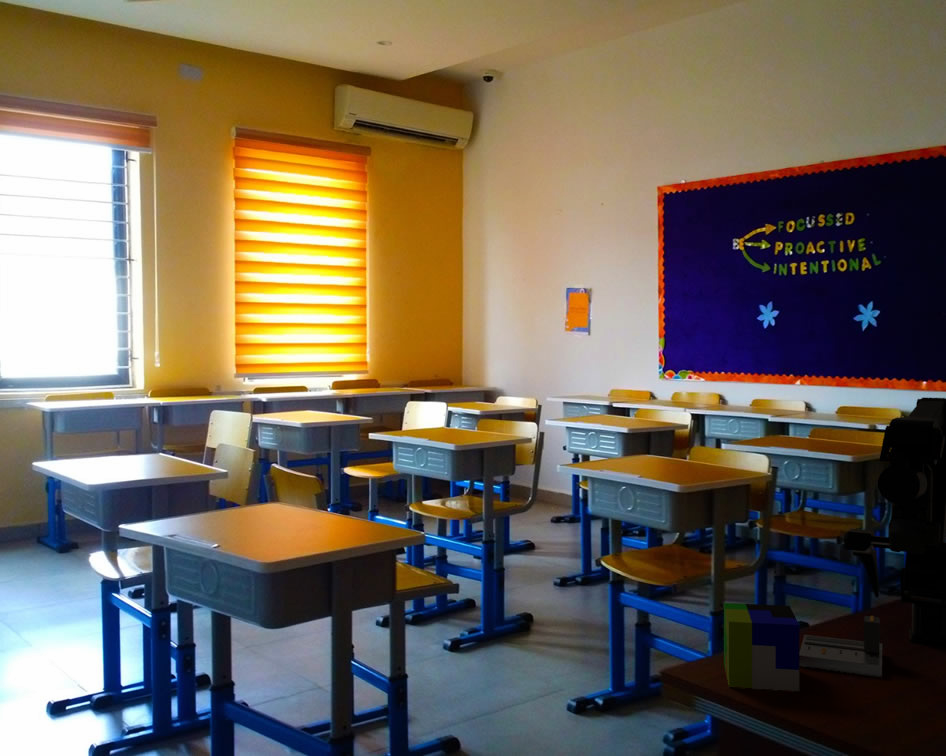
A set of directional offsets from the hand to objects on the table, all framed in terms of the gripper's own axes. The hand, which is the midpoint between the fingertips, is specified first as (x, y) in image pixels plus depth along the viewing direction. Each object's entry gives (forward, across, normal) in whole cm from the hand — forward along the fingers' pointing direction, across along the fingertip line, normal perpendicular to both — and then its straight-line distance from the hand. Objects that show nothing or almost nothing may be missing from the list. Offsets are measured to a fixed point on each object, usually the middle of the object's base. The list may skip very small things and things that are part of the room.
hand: (909, 601), depth 139 cm
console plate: (+11, -10, +1) cm, 15 cm away
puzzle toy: (+13, -20, -12) cm, 26 cm away
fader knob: (+9, -5, +3) cm, 11 cm away
